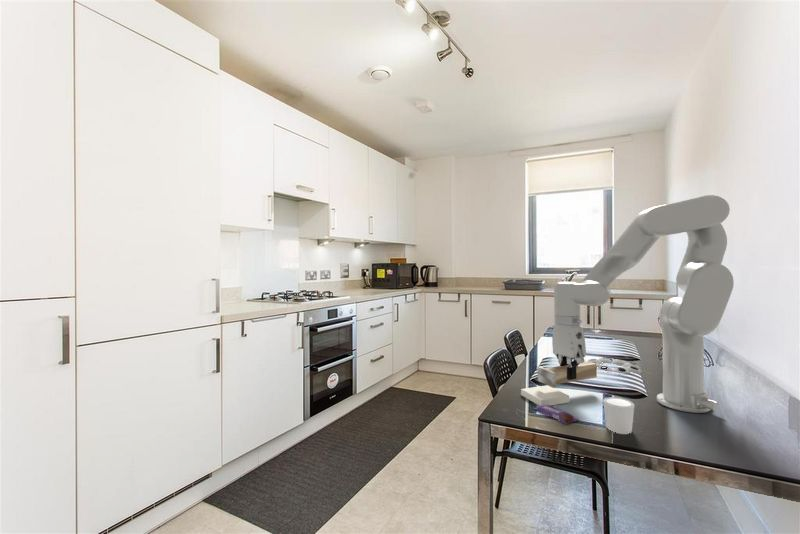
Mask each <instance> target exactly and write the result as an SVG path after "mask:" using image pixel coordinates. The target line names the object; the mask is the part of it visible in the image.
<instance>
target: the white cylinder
mask: <svg viewBox="0 0 800 534" xmlns="http://www.w3.org/2000/svg"><path fill="white" fill-rule="evenodd" d="M602 403H603V409H604V410H603V411H604V418H605V419H604V420H605V427H606V429H607V428H608V429H609V430H608V429H607V430H608V431H610V430H611V431H610V432H612V431H613V433H615V432H616V433H615V434H619V435H630V434H632V432H633V422H634V415H635V414H634V412H635V403H633V402H632V401H631V400H629V399H625V398H621V397H614V396H613V397H612V396H611V397H605V398H603V400H602ZM629 433H630V434H629Z"/></svg>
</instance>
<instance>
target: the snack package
mask: <svg viewBox="0 0 800 534" xmlns="http://www.w3.org/2000/svg"><path fill="white" fill-rule="evenodd" d="M532 409H533V410H535V411H536V412H539V411H540V412H539V413H541V412H542V413H541V414H543V413H545V414H547V415H549V416H548V417H550V416H551V417H550V418H552V417H553V418H552V419H554V418H555V419H554V420H556V419H558V420H560V421H561V423H562V422H563V423H562V424H565V425H569V424H572V423H574V422H578V421H579V418H576V416H574V415H573V414H571V413H569V412H567V411H564V410H562V409H559V408H558V407H555V406H554V405H547V406H537V407H533V408H532ZM545 414H544V415H545ZM547 415H546V416H547ZM558 420H557V421H558ZM560 421H559V422H560Z"/></svg>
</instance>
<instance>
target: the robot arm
mask: <svg viewBox="0 0 800 534" xmlns="http://www.w3.org/2000/svg"><path fill="white" fill-rule="evenodd" d="M730 209H731V208H730V205H729V203H728V201H727V200H726V199H725V198H723V197H721V196H720V195H719V196H718V195H714V194H708V195H707V194H706V195H702V196H698V197H693V198H690V199H686V200H685V199H684V200H681V201H675V202H672V203H667V204H662V205H656V206H653V207H650V208H648V209H644V210H643V211H640V212H639V213H638V214H637V215H636V216H635V218H634V219H632V221H631V222H630V224H629V225H628V226H627V227H626V228H625V230H624V231H623V232H622V233H621V235H620V236H619V237H618V239H616V241H615V242H614V243H613V244H612V246H611V247H610V248H609V250H607V252H606V253H605V254H604V255H603V256H602V257H601V258H600V260H598V262H597V263H596V264H595V265H594V266H593V267H592V268H591V270H590V271H588V273H587V274H586V275H585V277H584V278H583V279H582V280H581V282H580V283H578V282H576V281H558V282H556V283H554V287H553V303H554V304H553V305H554V308H553V309H554V311H553V313H554V314H553V315H554V323H553V328H552V336H551V337H552V341H551V343H552V354H554V356H555V357H556V359H557V360H558V361H557V362H558V364H559V366H565V365H568V367H567V379H568V380H572V379H576V367H578V365H579V364H580V363H584V362H586V361H585V358H586V356H587V351H586V350H587V349H586V347H587V345H586V338H585V336H586V335H585V332H584V328H583V326H582V325H581V324H582V319H581V305H582V306H588V307H589V306H590V307H601V306H604V305H606V303H608V301H609V300H610V296H611V293H610V290H609V287H610V286H611V285H612V283H613V282H615V280H616V279H618V277H620V276H621V275H622V274H623V273H626V272H627V271H629V270H631V269H632V268H634V267H635V266H637V265H638V264H639V263H640V262H641V261H642V259H643V258H644V257H645V256H646V254H647V253H648V252H649V251H650V250H651V248H652V247H653V246H654V245H655V244H656V243H657V242H658V240H659V238H660V237H664V236H671V235H677V234H681V233H686V235H687V237H688V238H687V239H688V241H687V246H686V249H685V254H684V256H683V258H682V261H681V263H680V266H679V268H678V272H677V274H676V276H675V281H676V286H677V287H678V289H680V290H681V291H683V292H684V295H683V296H675V297H670V298H668V299H667V300H665V301H664V302H663V304H662V305H661V307H660V310H659V319H660V325H661V327H660V328H661V333H662V335H661V336H662V392H661V393H658V394H657V395H656V401H657V402H658V403H659V404H660V405H662V406H665V407H666V408H669V409H673V410H676V411H681V412H686V413H695V414H696V413H697V414H702V413H708V412H711V411H713V412H716V411H718V407H719V402H718V401H716V400H712V399H709V393H707V392H705V377H704V376H705V369H704V367H705V366H704V365H705V363H704V362H705V361H704V360H705V358H704V354H705V346H704V336H707V335H709V334H711V333H713V332H714V331H715V330H716V329H717V328H718V326H719V325H720V322H721V320H722V318H723V315H724V312H725V311H726V308H727V306H728V303H729V301H730V298H731V295H732V294H733V293H732V291H733V289H734V283H735V282H734V280H735V279H734V276H733V273H732V272H731V271H730V269H729V268H727V266H726V265H723V264H722V263H723V259H724V256H725V254H726V250H727V246H728V237H727V236H728V235H727V233H726V231H725V228H724V226H723V224H722V223H723V222H724V221H726V220H727V218H728V217H729V214H730Z"/></svg>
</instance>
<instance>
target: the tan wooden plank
mask: <svg viewBox="0 0 800 534" xmlns="http://www.w3.org/2000/svg"><path fill="white" fill-rule="evenodd" d="M567 367H568V365H565V366H560V365H558V366H551V367H550V366H549V367H543V366H540V365H539V366H537V381H538V382H540V383H543V384H544V385H545V386H546V385H548V386H550V387H552V388H554V389H556V387H557V386H556V385H559V384H566V383H570V382H571V383H572V382H578V381H583V380H590V379H595V378H597V377H598V376H597V372H598V371H597V367H596V363H593V362H587V361H585V362H584V363H580V364H579V365H578V367H576V379H572V380H568V379H567Z"/></svg>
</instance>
